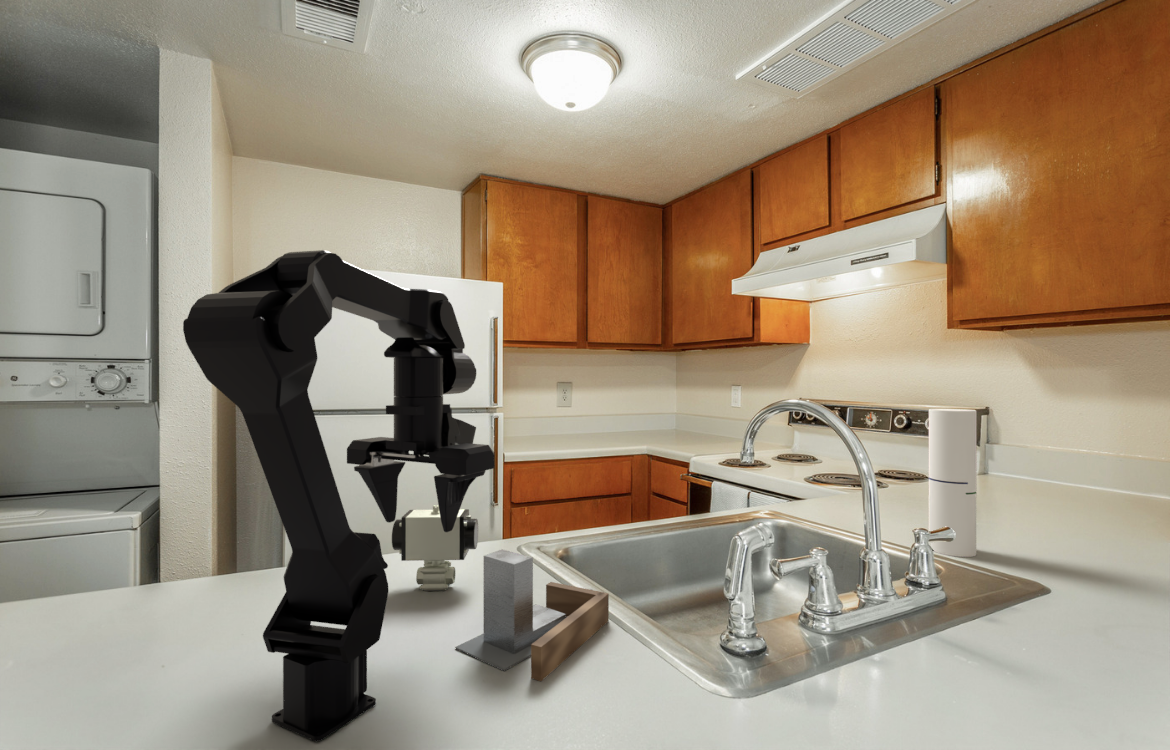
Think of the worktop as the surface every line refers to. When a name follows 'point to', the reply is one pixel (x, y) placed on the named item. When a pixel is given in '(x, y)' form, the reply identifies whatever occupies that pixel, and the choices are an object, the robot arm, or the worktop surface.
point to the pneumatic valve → (434, 544)
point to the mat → (493, 653)
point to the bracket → (513, 603)
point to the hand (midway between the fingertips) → (418, 526)
